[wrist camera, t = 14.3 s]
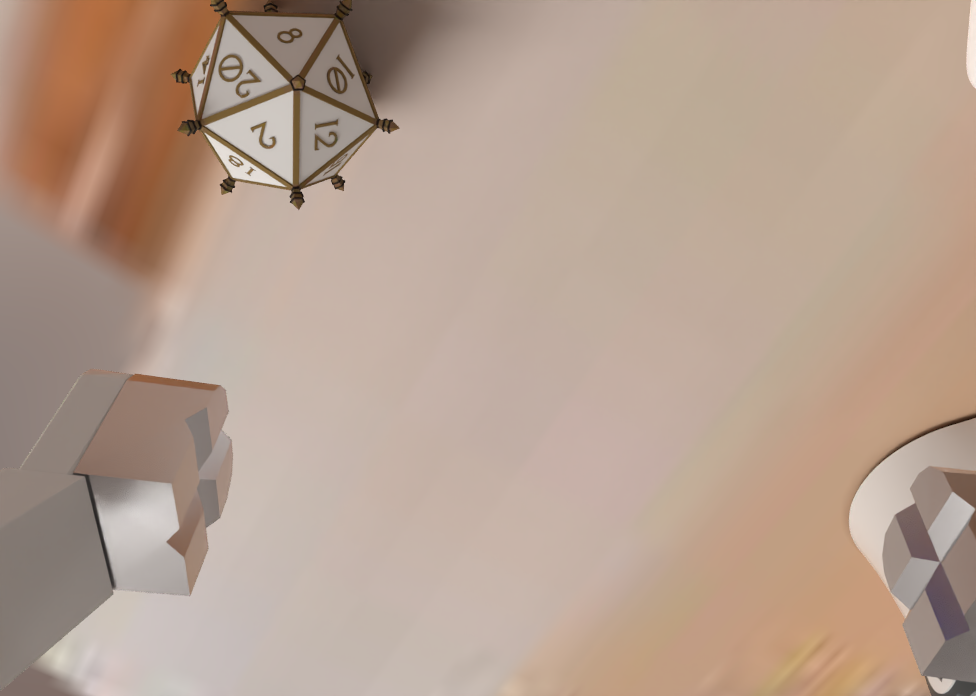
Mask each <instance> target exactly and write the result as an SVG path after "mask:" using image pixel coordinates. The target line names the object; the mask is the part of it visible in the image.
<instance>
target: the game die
mask: <svg viewBox="0 0 976 696" xmlns="http://www.w3.org/2000/svg"><path fill="white" fill-rule="evenodd" d="M351 3H352V0H344V1H340V4H339V6H337V11H336V13H335V14H310V13H277V12H278V11H277V10H276V9H277V6H276V5H274V4H273V3H272V2H271V1H270V0H269V1H268V2H267V4H266V5H264V9H265V10H264V11H265V12H245V11H228V10H227V4H226V2H224V0H211V5H210V6H213V8H214V9H215V10H214V11H215V12H218V13H219V14H220V15H221V18H220V20H219V22H218V24H217V26H216V28H215V30H214V32H213V34H212V35H211V37H210V39H209V41H208V43H207V45H206V47H205V49H204V51H203V53H202V54H201V56H200V58H199V60H198V62H197V64H196V66H195V68H194V70H193V72H192V73H191V74H188V73H187V71H182V70H181V69H179V70H178V71H176V72H174V73H172V74H171V75H172V76H173V77H174V79H175V80H176V82H182V83H187V82H189V83H190V88H191V95H192V101H193V107H194V113H195V119H196V121H194V120H187V121H182V124H181V126H180V127H179V129H178V130H177V131H180V132H182V133H185V134H187V135H188V136H189V135H190V134H191V133H193V134H195V132H196V131H197V130H199V131H200V132H201V134H202V135H203V137H204V138H205V140H206V142H207V143H208V145H209V146H210V148H211V149H212V151H213V152H214V154H215V155H216V157H217V159H218V160H219V162H220V163H221V165H222V166H223V168H224V169H225V171H226V172H227V174H228V178H227V179H225V180H223V183H222V184H220V186H221V194H222V195H223V194H226V193H228V192H231V193H232V189H233V188H235V186H234V184H235V182H236V181H240V182H245V183H251V184H257V185H263V186H269V187H274V188H280V189H286V190H291V191H292V193H291V195H290V198H291V201H290V203H292V204H293V205H294V206H295V207H296V208H297V209H298V210H299V209H300V207H301V205H302V204H303V203H304V202H305V201H304V199H303V197H304V196H303V194H302V192H300V190H301V189H303V188H306V187H309V186H311V185H314V184H317V183H319V182H322V181H325V180H327V179H330V178H331V179H332V180H331V182H332V184H333V185H334V188H335V189H339V190H342V191H344V183H345V180H342V177H341V176H338V175H337V174H338V173H339V171H340V170H341V169H342V168H343V167H344V166H345V164H346V163H347V162H348V161H349V160H350V159H351V157H352V156H353V155H354V154H355V153H356V152H357V151H358V149H359V148H360V147H361V146H362V145H363V144H364V142H365V141H366V140H367V139H368V138H369V137H370V136H371V134H372V133H373V132H374V131H375V130H376V129H377V128H380V129H382V130H383V132H384V131H387V132H388V133H389V134H390V132H392V131H394V130H397V129H399V127H398V126H397V125H396V124H395V123H394V122H393V120H387V119H384V120H380V119H379V117H378V114H377V112H376V109H375V106H374V104H373V101H372V98H371V96H370V93H369V90H368V88H367V85H366V84H369V83H370V79H371V78H372V75H370V74H368V73H367V72H366V71H364V72H363V73H362V72H361V69H360V66H359V63H358V61H357V58H356V55H355V53H354V50H353V47H352V45H351V42H350V39H349V37H348V34H347V31H346V29H345V26H344V23H343V21H342V20H343V18H344V17H345V16H348V15H349V14H348V13H349V12H350V11H352V9H351Z"/></svg>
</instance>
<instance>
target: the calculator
mask: <svg viewBox="0 0 976 696" xmlns="http://www.w3.org/2000/svg"><path fill="white" fill-rule="evenodd" d="M966 66H967V74H968V78H969V80H970V81H971V83H972V85H973V86H974V87H975V88H976V0H971V8H970V20H969V31H968V43H967V64H966Z"/></svg>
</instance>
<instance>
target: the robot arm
mask: <svg viewBox="0 0 976 696" xmlns="http://www.w3.org/2000/svg"><path fill="white" fill-rule="evenodd" d="M228 412H229V410H228V403H227V396H226V390H225V389H224V388H223V387H222V386H220V385H214V384H206V383H199V382H192V381H184V380H177V379H170V378H163V377H155V376H148V375H141V374H135V375H132V374H126V373H119V372H112V371H105V370H97V369H90V370H88V371H87V372H85V373H83V374H82V375H81V376H80V377H79V378H78V380H77V381H76V383H75V384H74V386H73V387H72V389H71V390H70V392H69V393H68V395H67V396H66V398H65V399H64V401H63V403H62V404H61V405H60V407H59V409H58V410H57V412H56V413H55V415H54V416H53V418H52V420H51V421H50V422H49V424H48V425H47V427H46V428H45V430H44V432H43V433H42V435H41V436H40V438H39V439H38V441H37V442H36V444H35V445H34V447H33V448H32V450H31V451H30V453H29V454H28V456H27V458H26V459H25V461H24V462H23V464H22V465H21V467H20V469H15V468H4V469H2V470H0V691H1V690H2V689H3V688H5V687H6V686H7V685H8V684H9V683H11V682H12V681H13V680H14V679H15V678H16V677H18V676H19V675H20V674H21V673H22V672H23V671H25V669H27V668H28V667H29V666H30V665H32V664H33V663H34V662H35V661H36V660H37V659H39V658H40V657H41V656H42V655H43V654H44V653H46V652H47V651H48V650H49V649H50V648H51V647H52V646H54V645H55V644H56V643H57V642H58V641H59V640H61V639H62V638H63V637H64V636H65V635H66V634H68V633H69V632H70V631H71V630H72V629H73V628H75V627H76V626H77V625H78V624H79V623H80V622H82V621H83V620H84V619H85V618H86V617H87V616H89V615H90V614H91V613H92V612H93V611H94V610H96V609H97V608H98V607H99V606H100V605H101V604H103V603H104V602H105V601H106V600H107V599H108V598H110V597H111V596H112V595H113V590H123V591H135V592H148V593H160V594H172V595H184V596H190V595H191V592H192V590H193V587H194V585H195V582H196V579H197V577H198V574H199V572H200V569H201V567H202V564H203V561H204V559H205V556H206V554H207V551H208V541H207V533H206V528H207V527H208V526H209V525H211V524H212V523H214V522H215V521H216V520H218V519H219V518H220V517H221V514H222V511H223V508H224V505H225V503H226V500H227V496H228V491H229V486H230V481H231V476H232V462H233V452H232V440H231V439H230V438H229V437H228V436H227V435H226V433H225V432H224V431H223V430H222V427H223V424H224V422H225V419H226V417H227V415H228ZM849 528H850V533H851V536H852V539H853V541H854V543H855V545H856V546H857V548H858V549H859V550H860V551H861V553H862V554H863V555H864V556H865V558H866V559H867V560H868V561H869V563H870V564H871V565H872V567H873V568H874V569H875V571H876V572H877V573H878V575H879V576H880V578H881V579H882V581H883V582H884V584H885V585H886V587H887V588H888V590H889V592H890V593H891V595H892V597H893V598H894V600H895V602H896V603H897V605H898V607H899V609H900V610H901V612H902V614H903V616H904V618H905V621H904V623H903V627H904V630H905V633H906V635H907V638H908V641H909V644H910V646H911V649H912V652H913V654H914V657H915V660H916V662H917V665H918V668H919V670H920V673H921V675H922V676H925V678H926V682H927V685H928V687H929V690H930V693H931V695H932V696H976V418H974V419H971V420H967V421H964V422H961V423H957V424H954V425H951V426H947V427H945V428H942V429H939V430H936V431H934V432H931V433H929V434H927V435H924V436H922V437H920V438H918V439H916V440H914V441H912V442H910V443H909V444H907V445H905V446H904V447H902V448H900V449H899V450H897V451H896V452H894V453H893V454H892V455H890V456H889V457H888V458H886V459H885V460H884V461H883V462H881V463H880V464H879V465H878V466H877V467H876V468H875V469H874V470H873V471H872V472H871V473H870V474H869V475H868V477H867V478H866V479H865V480H864V482H863V483H862V485H861V486H860V487H859V489H858V491H857V493H856V495H855V497H854V499H853V502H852V505H851V508H850V514H849Z"/></svg>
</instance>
